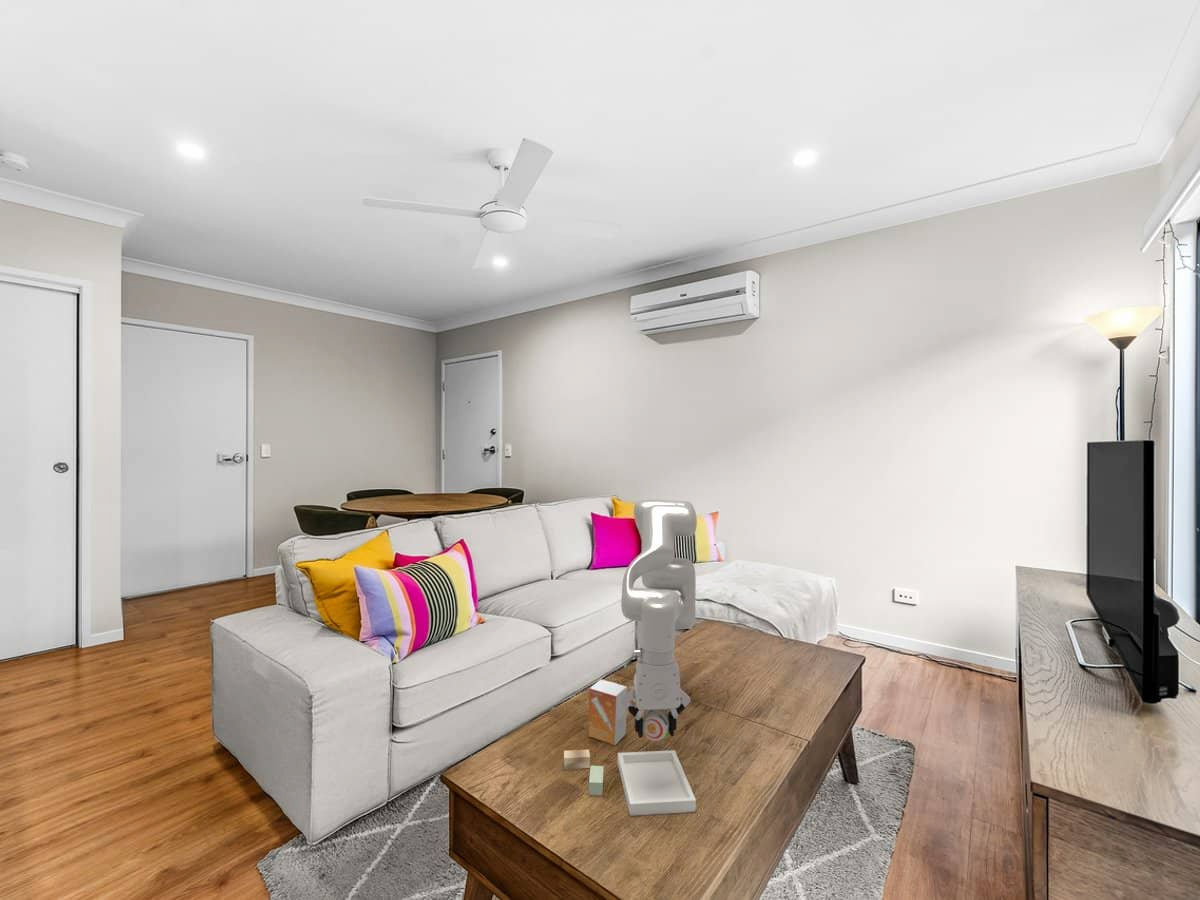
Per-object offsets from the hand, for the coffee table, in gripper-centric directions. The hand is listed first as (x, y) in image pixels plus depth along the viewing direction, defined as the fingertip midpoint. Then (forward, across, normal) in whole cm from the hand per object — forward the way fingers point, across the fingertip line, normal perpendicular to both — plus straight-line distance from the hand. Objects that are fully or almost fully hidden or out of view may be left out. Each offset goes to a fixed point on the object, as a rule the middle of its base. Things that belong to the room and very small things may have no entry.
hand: (655, 733), depth 122 cm
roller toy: (+1, 0, 0) cm, 1 cm away
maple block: (+12, -17, +9) cm, 23 cm away
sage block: (+12, -13, +1) cm, 18 cm away
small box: (+12, -8, +21) cm, 26 cm away
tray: (+12, 0, 0) cm, 12 cm away
